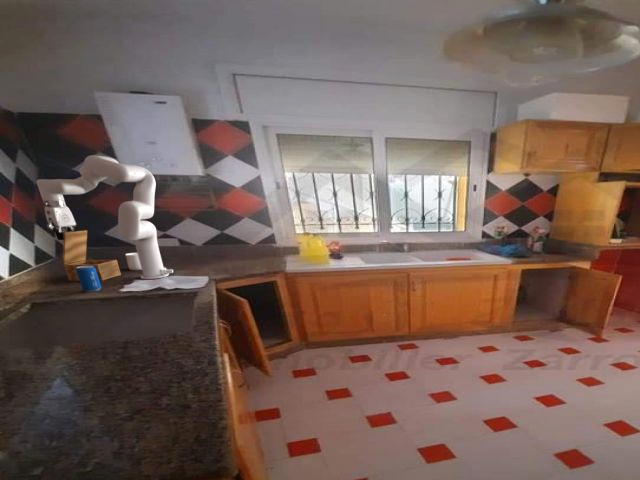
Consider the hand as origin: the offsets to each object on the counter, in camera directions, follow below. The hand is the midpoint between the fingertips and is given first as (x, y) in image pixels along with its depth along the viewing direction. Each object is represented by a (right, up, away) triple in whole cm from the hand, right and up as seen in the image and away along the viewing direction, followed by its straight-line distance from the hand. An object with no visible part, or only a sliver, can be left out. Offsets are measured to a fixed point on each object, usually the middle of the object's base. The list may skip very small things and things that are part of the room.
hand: (66, 238), depth 171 cm
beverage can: (+30, -28, -15) cm, 44 cm away
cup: (+13, -14, +29) cm, 35 cm away
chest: (+8, -21, +8) cm, 23 cm away
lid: (+3, -4, +2) cm, 6 cm away
